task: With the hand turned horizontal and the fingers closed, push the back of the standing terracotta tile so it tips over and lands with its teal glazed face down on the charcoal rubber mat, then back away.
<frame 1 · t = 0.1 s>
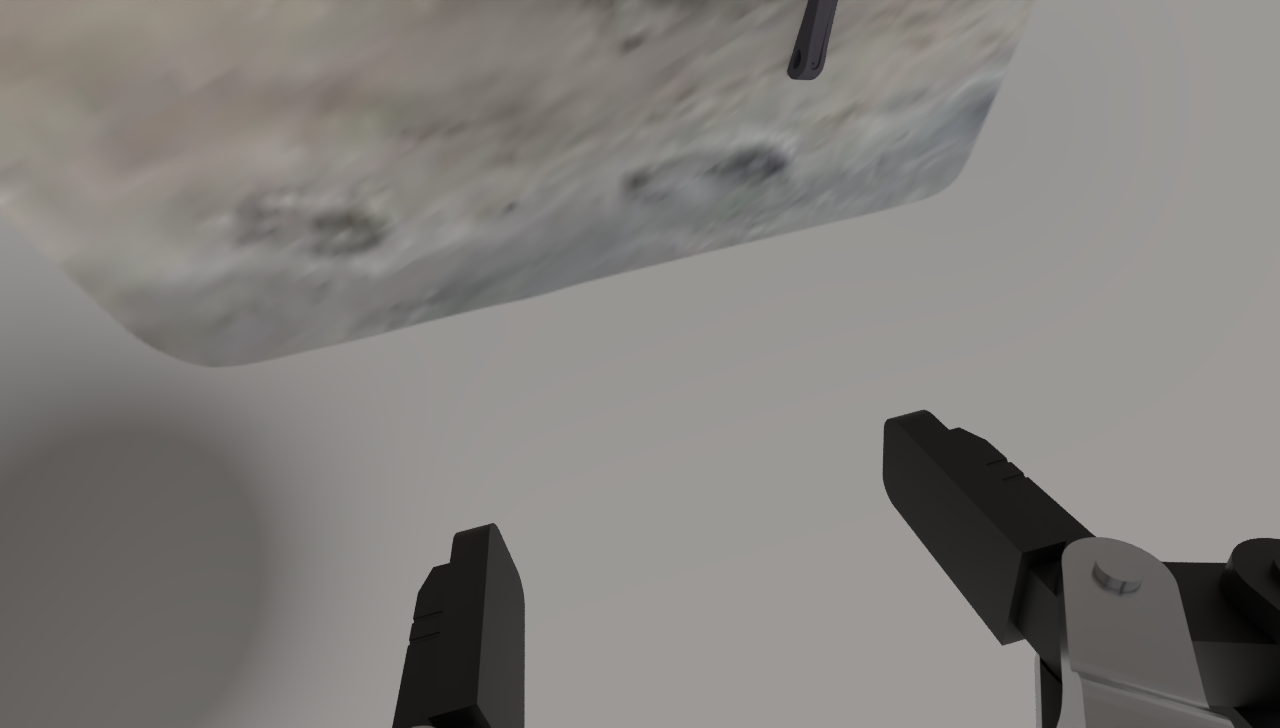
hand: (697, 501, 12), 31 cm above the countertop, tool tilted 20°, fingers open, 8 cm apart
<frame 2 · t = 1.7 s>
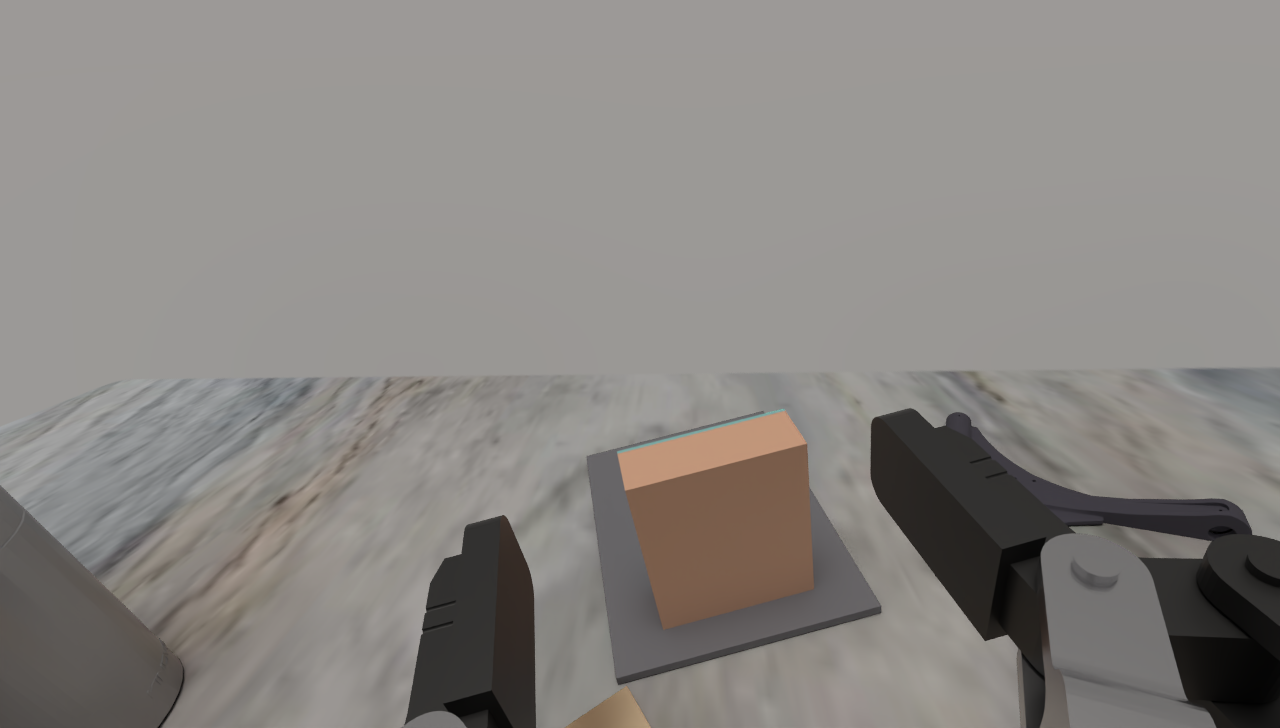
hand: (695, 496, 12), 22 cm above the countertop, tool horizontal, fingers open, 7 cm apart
tile: (731, 587, 35), point 1 cm above the countertop, touching mat
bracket: (1074, 521, 36), on the countertop
mat: (706, 522, 40), on the countertop
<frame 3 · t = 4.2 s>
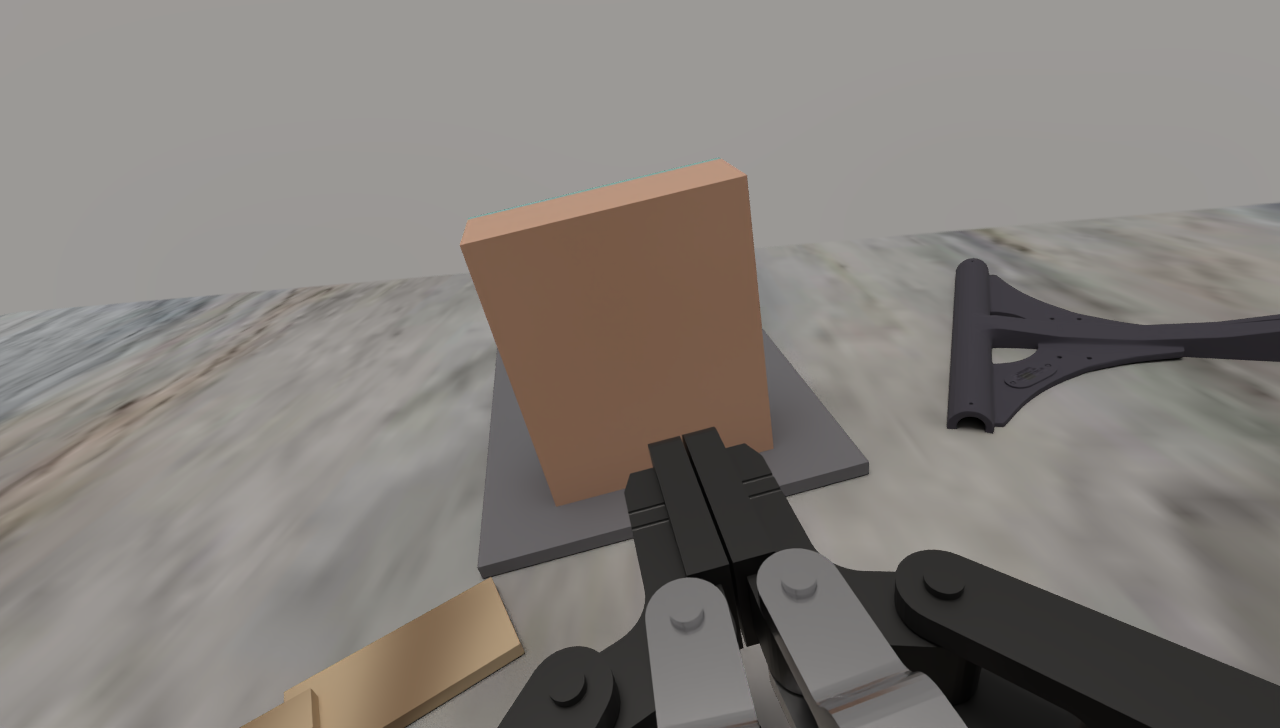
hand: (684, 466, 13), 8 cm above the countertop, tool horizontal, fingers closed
tile: (658, 454, 25), point 1 cm above the countertop, touching mat
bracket: (1139, 364, 26), on the countertop
turner: (327, 724, 18), on the countertop
mat: (637, 392, 30), on the countertop
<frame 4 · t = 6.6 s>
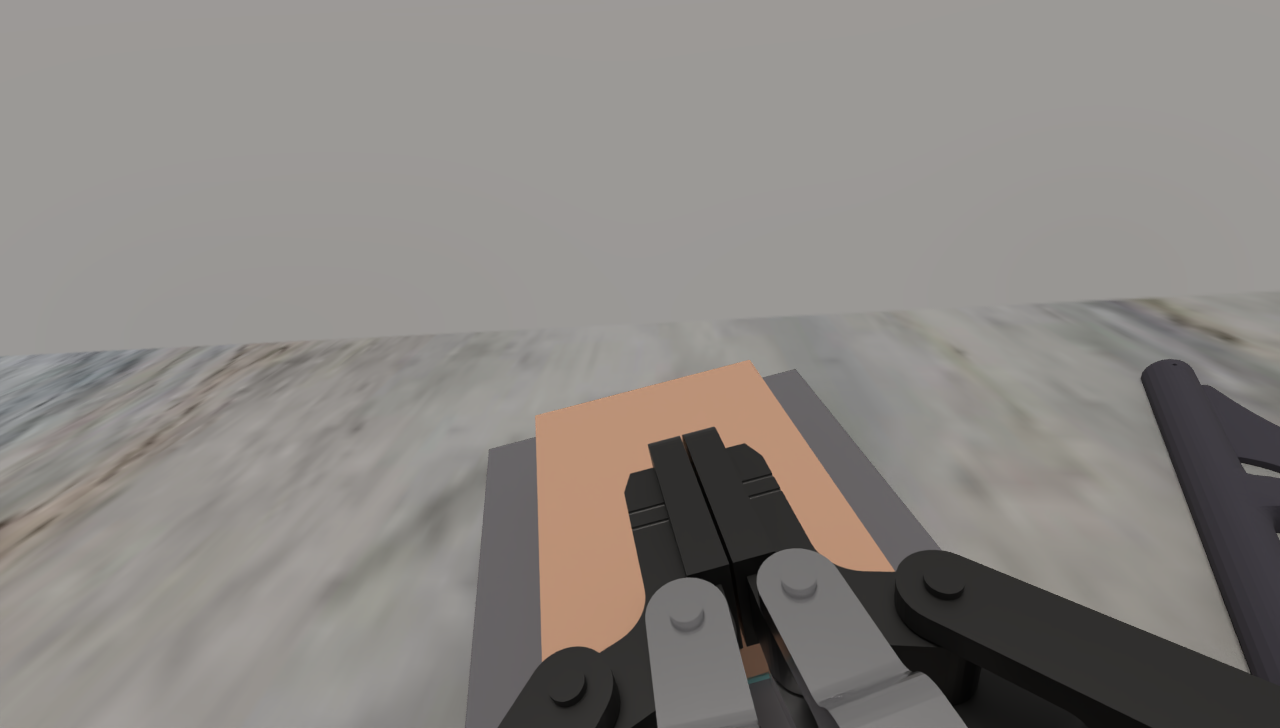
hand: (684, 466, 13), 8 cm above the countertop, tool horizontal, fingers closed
tile: (728, 655, 15), point 2 cm above the countertop, tilted 90°, touching mat
mat: (696, 576, 20), on the countertop
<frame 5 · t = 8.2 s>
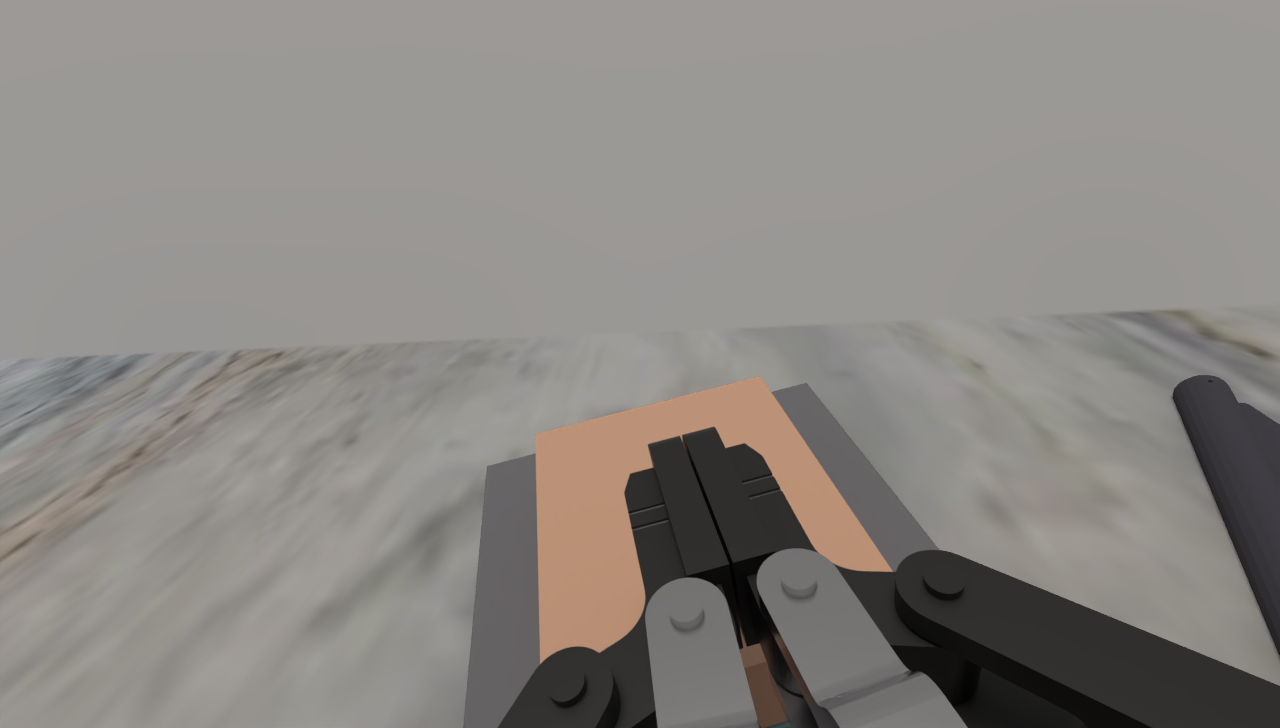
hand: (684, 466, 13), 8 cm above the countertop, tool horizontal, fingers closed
tile: (742, 706, 14), point 2 cm above the countertop, tilted 90°, touching mat
mat: (705, 608, 19), on the countertop
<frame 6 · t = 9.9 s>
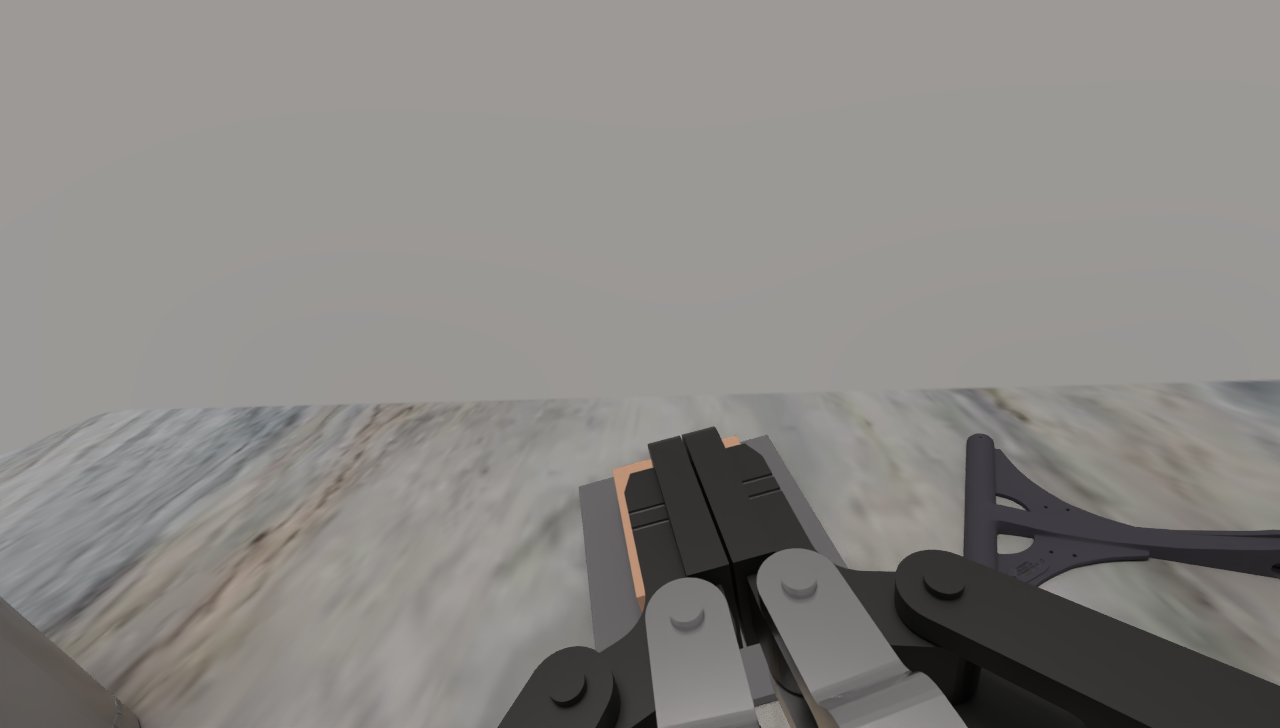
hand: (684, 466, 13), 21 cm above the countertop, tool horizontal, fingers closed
tile: (721, 592, 32), point 2 cm above the countertop, tilted 90°, touching mat
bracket: (1115, 555, 32), on the countertop
mat: (706, 559, 37), on the countertop
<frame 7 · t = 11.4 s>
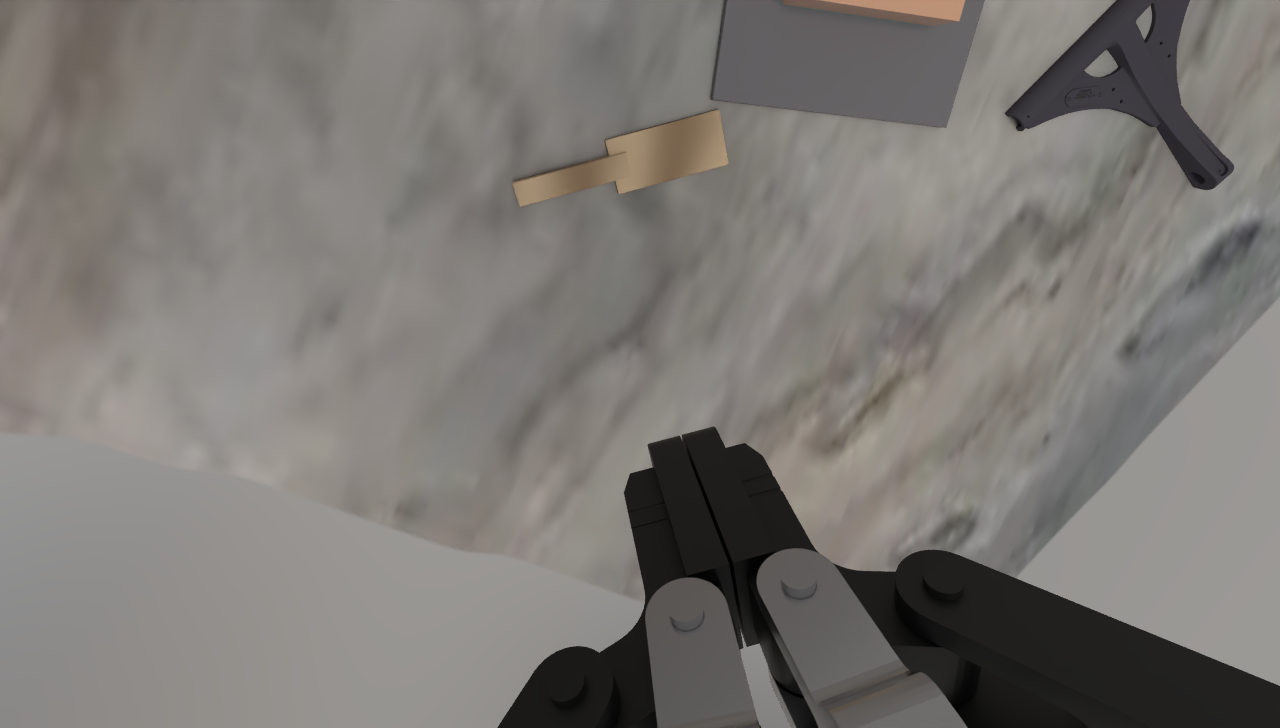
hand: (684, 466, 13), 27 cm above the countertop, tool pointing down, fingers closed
tile: (867, 12, 32), point 2 cm above the countertop, tilted 90°, touching mat
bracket: (1142, 104, 39), on the countertop
turner: (627, 162, 36), on the countertop
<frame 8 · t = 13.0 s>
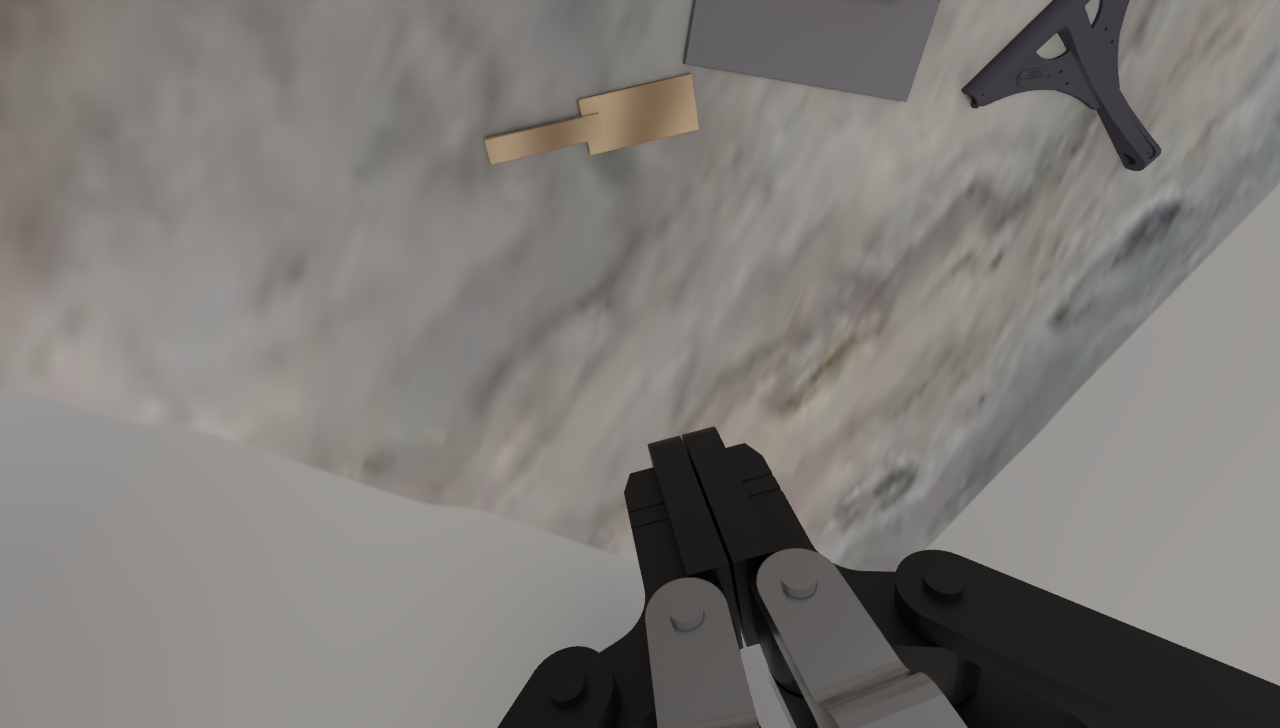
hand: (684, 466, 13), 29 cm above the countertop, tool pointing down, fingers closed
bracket: (1085, 87, 41), on the countertop
turner: (599, 123, 36), on the countertop
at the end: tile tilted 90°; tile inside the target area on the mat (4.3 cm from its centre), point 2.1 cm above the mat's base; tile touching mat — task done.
